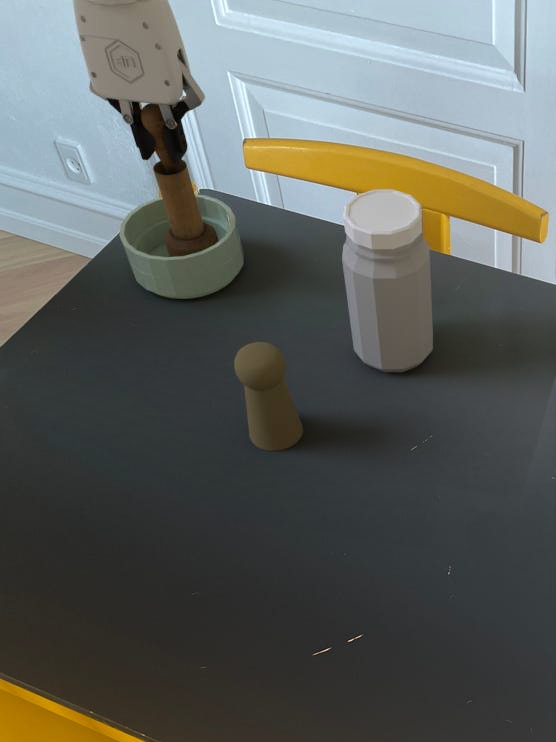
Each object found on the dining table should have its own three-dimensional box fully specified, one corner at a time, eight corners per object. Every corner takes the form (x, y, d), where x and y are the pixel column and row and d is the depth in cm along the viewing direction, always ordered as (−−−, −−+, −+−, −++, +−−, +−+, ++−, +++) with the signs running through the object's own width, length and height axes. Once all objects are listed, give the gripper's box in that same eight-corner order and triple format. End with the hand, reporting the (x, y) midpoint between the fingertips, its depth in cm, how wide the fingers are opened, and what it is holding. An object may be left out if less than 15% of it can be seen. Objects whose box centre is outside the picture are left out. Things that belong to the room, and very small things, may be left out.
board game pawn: (305, 412, 102) (288, 332, 93) (300, 450, 99) (283, 371, 89) (252, 413, 102) (230, 333, 93) (246, 451, 98) (223, 372, 89)
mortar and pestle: (226, 238, 116) (188, 92, 101) (213, 268, 113) (171, 121, 98) (177, 235, 117) (131, 90, 102) (162, 265, 113) (113, 119, 98)
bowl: (117, 295, 113) (101, 252, 108) (158, 231, 121) (145, 188, 116) (224, 308, 112) (212, 265, 107) (258, 242, 120) (249, 200, 115)
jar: (422, 383, 105) (414, 243, 90) (343, 370, 106) (322, 229, 91) (443, 331, 110) (439, 191, 95) (367, 319, 111) (352, 178, 96)
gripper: (20, -20, 88) (86, 165, 103) (177, -4, 87) (220, 181, 102) (53, -50, 92) (112, 132, 107) (204, -35, 91) (241, 147, 106)
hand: (164, 154), depth 104 cm, fingers closed on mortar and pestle, 3 cm apart
